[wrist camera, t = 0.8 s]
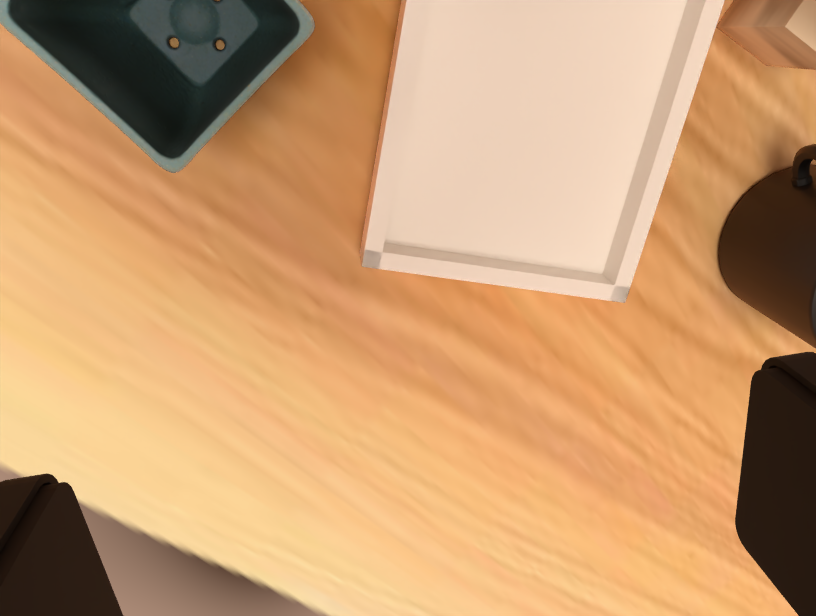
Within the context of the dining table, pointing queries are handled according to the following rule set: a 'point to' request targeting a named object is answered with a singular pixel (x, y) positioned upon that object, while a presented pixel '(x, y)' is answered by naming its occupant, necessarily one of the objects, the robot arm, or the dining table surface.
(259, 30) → the flower pot
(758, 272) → the mug
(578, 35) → the tray
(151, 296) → the dining table surface
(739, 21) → the beech block
